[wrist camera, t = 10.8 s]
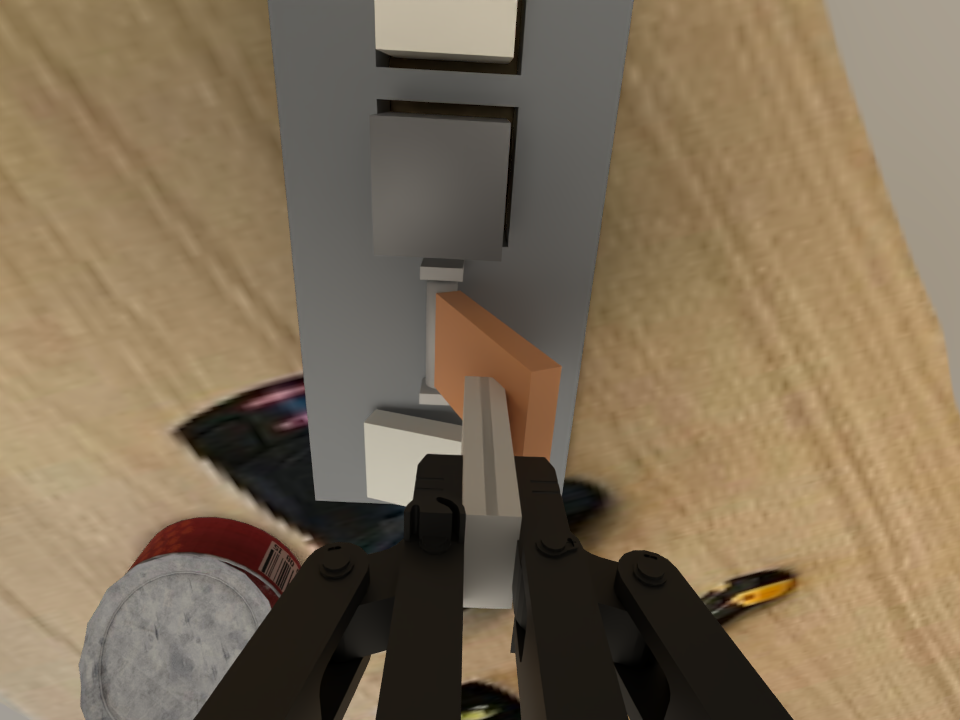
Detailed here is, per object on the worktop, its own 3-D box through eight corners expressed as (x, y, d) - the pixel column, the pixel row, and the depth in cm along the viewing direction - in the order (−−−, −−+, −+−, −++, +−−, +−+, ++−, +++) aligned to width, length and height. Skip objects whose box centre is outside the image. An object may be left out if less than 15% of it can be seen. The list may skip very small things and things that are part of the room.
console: (281, -170, 19) (226, -243, 15) (635, -147, 19) (676, -213, 15) (330, 463, 30) (307, 519, 26) (552, 473, 30) (563, 531, 26)
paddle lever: (422, 279, 22) (529, 366, 15) (450, 276, 22) (565, 359, 16) (421, 378, 24) (516, 494, 17) (447, 374, 24) (549, 484, 17)
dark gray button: (389, 111, 20) (369, 115, 16) (506, 118, 20) (511, 123, 16) (391, 228, 22) (373, 254, 18) (498, 234, 22) (501, 261, 18)
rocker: (375, 409, 25) (363, 422, 24) (507, 434, 23) (500, 450, 22) (378, 481, 26) (367, 497, 25) (500, 509, 25) (494, 526, 24)
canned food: (181, 529, 38) (15, 601, 29) (278, 469, 34) (125, 528, 25) (253, 682, 37) (105, 808, 28) (362, 636, 33) (234, 763, 24)
